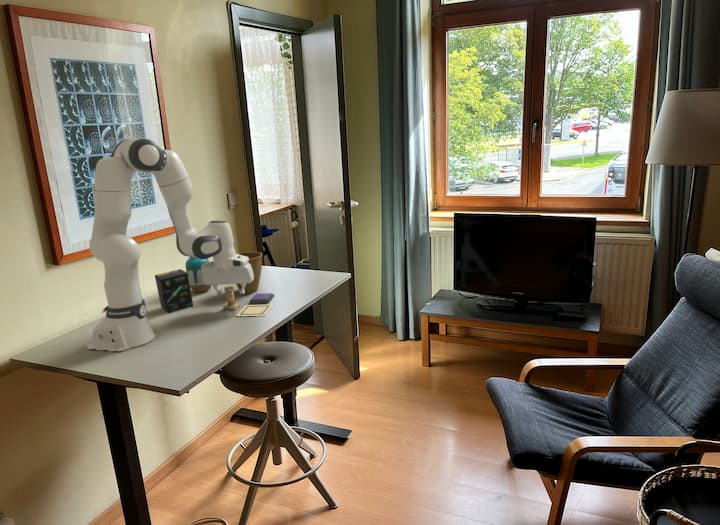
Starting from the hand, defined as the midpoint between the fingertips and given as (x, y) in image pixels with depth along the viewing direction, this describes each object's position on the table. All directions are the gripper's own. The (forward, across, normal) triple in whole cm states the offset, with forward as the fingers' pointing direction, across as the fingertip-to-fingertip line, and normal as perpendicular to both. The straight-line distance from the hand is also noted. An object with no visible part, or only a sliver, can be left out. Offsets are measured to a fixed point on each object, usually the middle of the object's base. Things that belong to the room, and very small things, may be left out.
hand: (231, 293), depth 209 cm
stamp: (+6, 0, 0) cm, 6 cm away
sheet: (+6, +11, -4) cm, 13 cm away
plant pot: (+6, 0, +20) cm, 21 cm away
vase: (+6, -23, +22) cm, 33 cm away
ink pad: (+6, +10, +8) cm, 14 cm away
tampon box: (+6, -25, +2) cm, 26 cm away
